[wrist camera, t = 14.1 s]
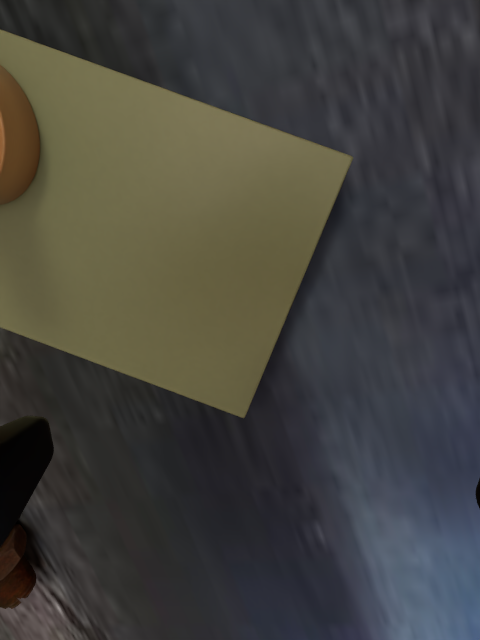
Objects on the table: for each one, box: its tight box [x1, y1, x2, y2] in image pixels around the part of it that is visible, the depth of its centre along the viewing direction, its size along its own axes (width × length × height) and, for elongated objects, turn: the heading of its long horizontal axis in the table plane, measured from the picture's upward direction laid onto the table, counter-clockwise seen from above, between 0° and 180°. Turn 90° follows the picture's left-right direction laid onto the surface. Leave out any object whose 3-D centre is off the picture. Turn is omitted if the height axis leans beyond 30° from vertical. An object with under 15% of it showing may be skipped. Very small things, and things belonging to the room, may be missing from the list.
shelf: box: [0, 30, 353, 418], centre depth 17 cm, size 20×13×4 cm, turn 71°
